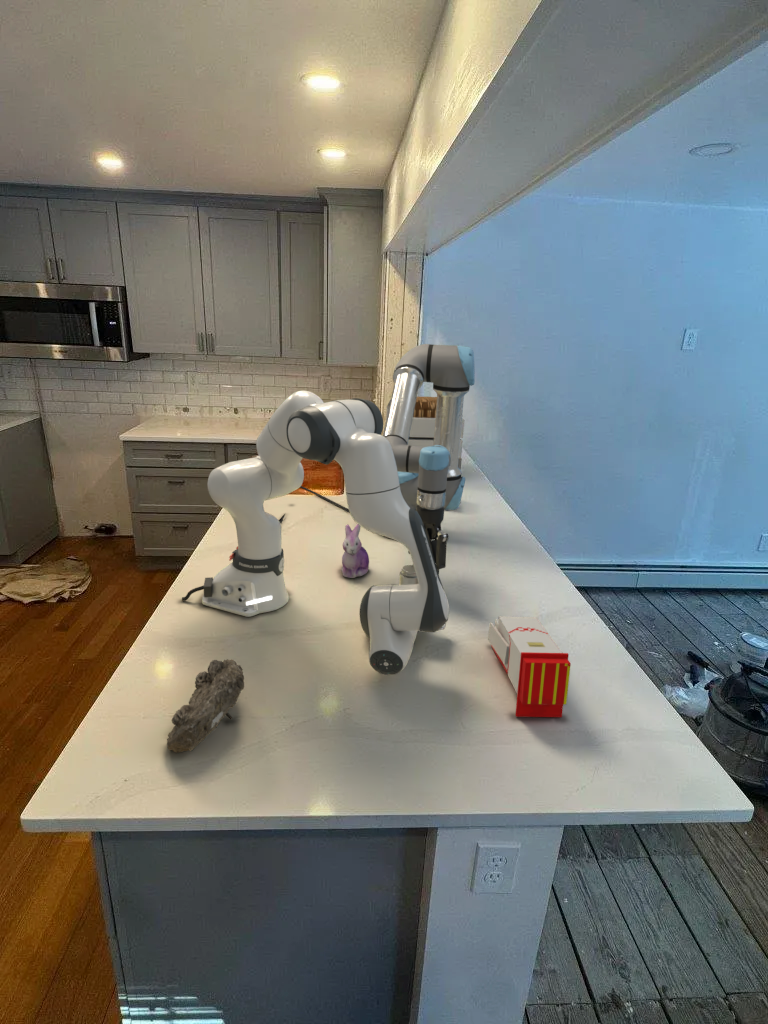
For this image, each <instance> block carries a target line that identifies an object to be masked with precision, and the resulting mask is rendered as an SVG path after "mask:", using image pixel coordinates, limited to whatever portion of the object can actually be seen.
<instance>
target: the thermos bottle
mask: <svg viewBox="0 0 768 1024" xmlns="http://www.w3.org/2000/svg"><path fill="white" fill-rule="evenodd" d="M398 580H399V581H398V585H411V584H419V582H418V578H417V575H416V572H415V568H414V566H413V564H407V565H404V566H402V568H401V571H399V579H398Z"/></svg>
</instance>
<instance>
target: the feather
mask: <svg viewBox="0 0 768 1024" xmlns="http://www.w3.org/2000/svg"><path fill="white" fill-rule="evenodd" d="M285 515H286V513H283V515H281V517H280V518H279V519H278V520H279V522H280V523H281V522H282V520H283V519H284V517H285Z"/></svg>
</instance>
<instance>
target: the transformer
mask: <svg viewBox="0 0 768 1024" xmlns="http://www.w3.org/2000/svg"><path fill="white" fill-rule="evenodd" d="M390 401H391V399H390V400H389V402H388V404H387V405H386V413H385V414H386V415H385V420H386V419H387V414H388V410H389V406H390ZM436 404H437V396H418V395H417V399H416V404H415V410H414V415H413V420H412V425H411V430H410V435H409V441H408V445H410V446H421V447H428V446H434V432H435V418H436ZM464 429H465V419H464V418H462V424H461V435H460V446H459V458H458V468H459V469H460V470H461V471H462V461H463V460H462V453H463V442H464V441H463V440H462V439H463V438H464V431H465V430H464Z"/></svg>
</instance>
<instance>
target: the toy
mask: <svg viewBox="0 0 768 1024" xmlns="http://www.w3.org/2000/svg"><path fill="white" fill-rule="evenodd" d="M488 625H489V627H488V633H487V641H488V642H489V644H490V646H491V647H490V648H491V649H492V650H493V652H494V654H495V656H496V658H497V659H498V660H499V662H500V664H501V666H502V668H503V669H504V671H505V673H506V674H507V676H508V678H509V680H510V682H511V685H512V686H513V689H514V690H515V693H516V704H515V717H516V718H517V717H518V718H519V717H520V718H521V717H522V718H563V710H564V705H567V701H568V692H569V685H570V684H569V683H570V676H571V675H570V674H571V666H572V664H571V661H570V660H569V655H570V654H569V653H568V652H563V651H562V649H561V648H560V647H559V646H558V644H557V643H556V642H555V640H554V639H553V638H552V636H551V635H550V634H549V632H548V631H547V629H546V628H545V627H544V626H543V624H542V622H541V621H540V620H539V619H538V618H537V616H498V618H496V619H494V623H493V622H489V624H488Z"/></svg>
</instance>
